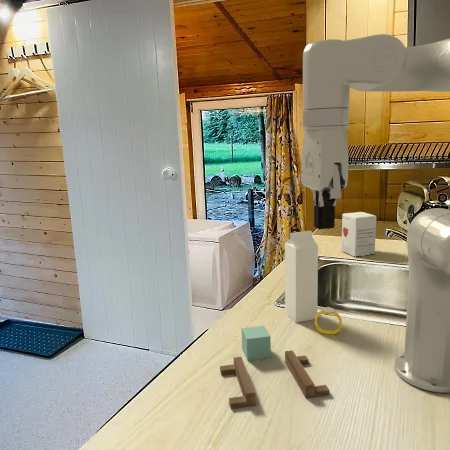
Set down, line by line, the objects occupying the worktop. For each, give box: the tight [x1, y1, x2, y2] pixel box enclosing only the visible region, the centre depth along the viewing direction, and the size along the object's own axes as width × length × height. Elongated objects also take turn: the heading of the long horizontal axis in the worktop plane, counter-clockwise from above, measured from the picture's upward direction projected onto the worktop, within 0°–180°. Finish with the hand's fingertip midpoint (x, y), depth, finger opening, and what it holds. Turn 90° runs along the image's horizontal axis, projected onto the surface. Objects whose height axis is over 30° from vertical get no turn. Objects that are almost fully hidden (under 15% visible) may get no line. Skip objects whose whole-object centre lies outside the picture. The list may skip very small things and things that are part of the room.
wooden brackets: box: [219, 349, 330, 410], centre depth 78 cm, size 18×12×2 cm
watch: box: [314, 306, 343, 336], centre depth 96 cm, size 6×3×6 cm, turn 72°
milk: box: [284, 230, 319, 323], centre depth 103 cm, size 6×6×22 cm
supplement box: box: [341, 211, 377, 258], centre depth 155 cm, size 9×9×15 cm
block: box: [241, 325, 272, 362], centre depth 88 cm, size 5×5×5 cm
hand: (324, 227), depth 73 cm, fingers closed
